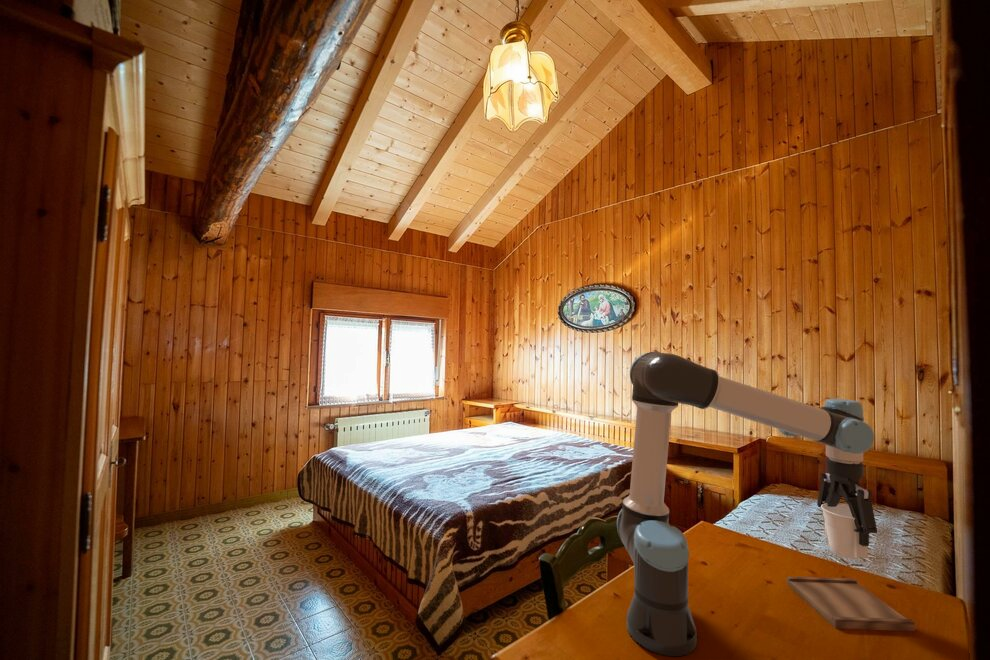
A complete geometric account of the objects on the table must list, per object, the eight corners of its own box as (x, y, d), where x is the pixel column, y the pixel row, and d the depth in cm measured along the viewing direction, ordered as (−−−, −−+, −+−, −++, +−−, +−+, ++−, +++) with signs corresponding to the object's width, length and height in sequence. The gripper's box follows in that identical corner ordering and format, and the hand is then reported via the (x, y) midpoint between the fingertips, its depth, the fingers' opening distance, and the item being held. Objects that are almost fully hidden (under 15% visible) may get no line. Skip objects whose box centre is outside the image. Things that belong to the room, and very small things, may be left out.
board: (835, 628, 101) (835, 619, 101) (786, 584, 119) (786, 576, 119) (914, 631, 100) (914, 622, 100) (853, 586, 118) (853, 578, 118)
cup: (881, 565, 104) (880, 520, 104) (834, 561, 106) (834, 516, 106) (855, 546, 113) (855, 504, 114) (813, 542, 115) (813, 501, 116)
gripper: (897, 473, 99) (898, 571, 98) (828, 448, 121) (828, 528, 120) (864, 473, 99) (865, 570, 99) (800, 448, 121) (801, 527, 121)
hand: (845, 547), depth 110 cm, fingers closed on cup, 9 cm apart
